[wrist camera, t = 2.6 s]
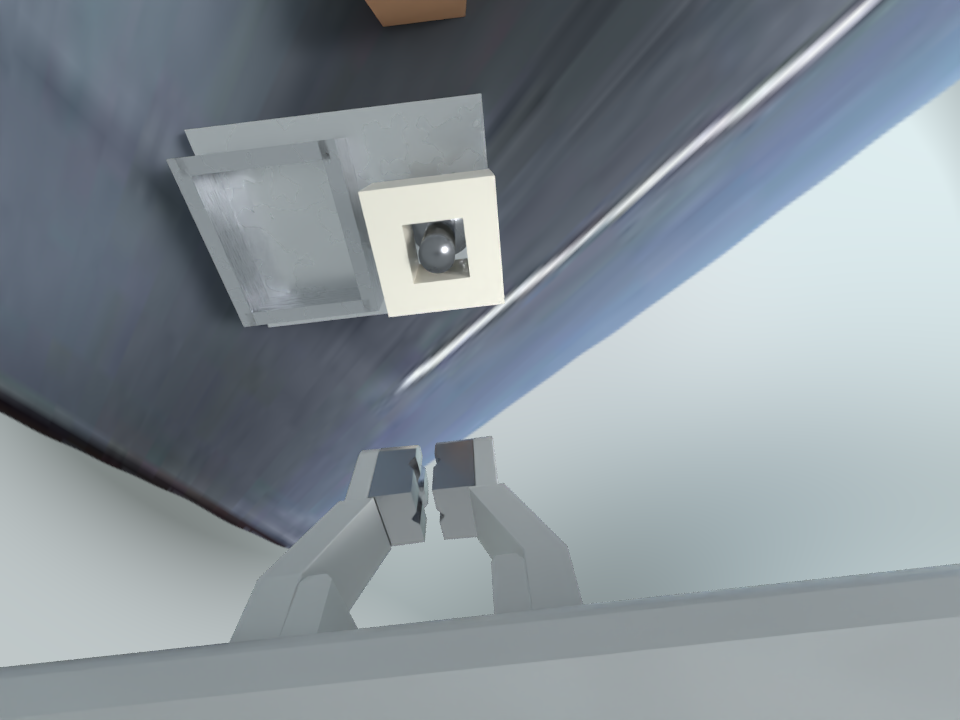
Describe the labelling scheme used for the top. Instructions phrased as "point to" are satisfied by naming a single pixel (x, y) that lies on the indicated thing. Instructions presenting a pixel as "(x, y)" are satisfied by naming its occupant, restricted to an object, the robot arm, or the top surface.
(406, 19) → the block
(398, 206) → the square housing
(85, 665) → the robot arm
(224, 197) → the chassis
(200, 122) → the top surface
